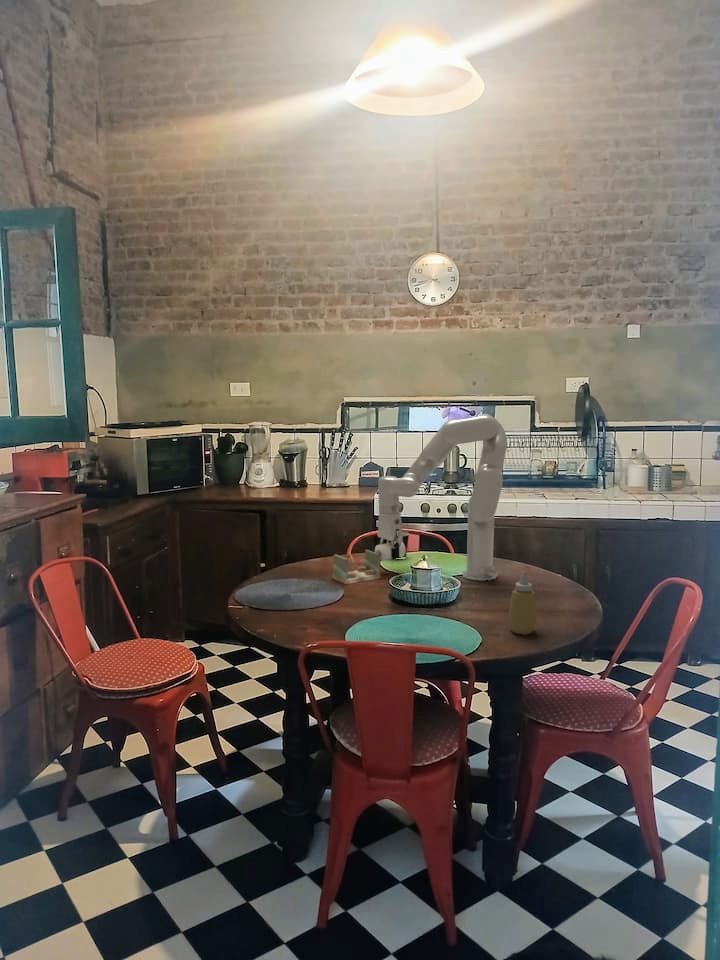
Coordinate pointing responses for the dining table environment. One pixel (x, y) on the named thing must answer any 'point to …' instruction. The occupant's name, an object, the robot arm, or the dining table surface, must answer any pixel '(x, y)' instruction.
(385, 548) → the paper roll
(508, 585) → the dining table surface
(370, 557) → the roll holder
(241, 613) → the dining table surface
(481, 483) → the robot arm
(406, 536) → the coffee mug
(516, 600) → the squeeze bottle
